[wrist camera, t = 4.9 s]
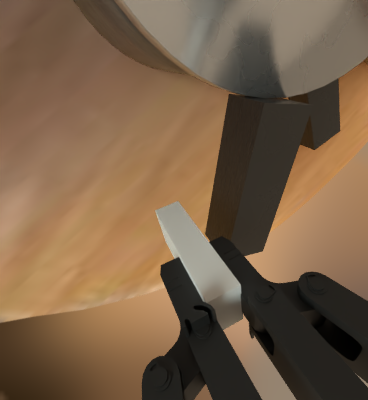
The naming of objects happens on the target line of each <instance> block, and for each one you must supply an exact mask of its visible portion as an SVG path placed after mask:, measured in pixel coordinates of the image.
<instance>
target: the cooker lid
mask: <svg viewBox="0 0 368 400" xmlns="http://www.w3.org/2000/svg"><path fill="white" fill-rule="evenodd" d="M114 1H115V2H116V4H117V5H118V6H119V7H120V8H121V10H122V11H123V12H124V13H125V15H126V16H127V17H128V18H129V20H130V21H131V22H132V23H133V24H134V26H135V27H136V28H137V29H138V31H139V32H140V33H142V34H143V35H144V36H145V37H146V38H147V39H148V40H149V41H150V42H151V43H152V44H153V45H154V46H155V47H156V48H157V49H158V50H159V51H160V52H161V53H162V54H163V55H164V56H165V57H167V58H168V59H169V60H171V61H172V62H174V63H175V64H176V65H178V66H179V67H180V68H182V69H183V70H184V71H186V72H187V73H188V74H190V75H192V76H194V77H196V78H198V79H200V80H202V81H203V82H205V83H207V84H209V85H211V86H214V87H217V88H220V89H223V90H226V91H229V92H232V93H237V94H241V95H237V94H229V97H228V103H227V109H226V115H225V121H224V126H223V132H222V138H221V144H220V150H219V156H218V162H217V168H216V174H215V179H214V185H213V191H212V197H211V203H210V209H209V215H208V221H207V227H206V233H205V235H206V236H207V237H208V239H209V240H210V241H212V240H214V239H216V238H219V237H221V236H223V237H224V238H226V239H228V240H230V241H231V242H232V243H233V244H234V245H235V247H236V248H237V249H238V250H239V251H240V252H241V254H242V255H243V256H247V255H250V254H254V253H258V252H262V251H263V249H264V246H265V243H266V240H267V237H268V235H269V232H270V229H271V226H272V223H273V220H274V217H275V215H276V212H277V209H278V206H279V203H280V200H281V197H282V194H283V191H284V188H285V186H286V183H287V180H288V177H289V174H290V171H291V168H292V165H293V162H294V160H295V157H296V154H297V151H298V148H299V145H300V142H301V139H302V136H303V133H304V131H305V128H306V125H307V122H308V119H309V116H310V113H311V110H312V107H313V105H312V104H307V103H302V102H297V101H292V100H287V99H283V98H286V97H291V96H295V95H300V94H305V93H307V92H310V91H313V90H315V89H318V88H320V87H323V86H325V85H327V84H329V83H331V82H332V81H334V80H336V79H338V78H340V77H341V76H343V75H344V74H346V73H347V72H349V71H350V70H351V69H353V68H354V67H356V66H357V65H358V64H360V63H361V62H362V61H363V60H365V59H366V58H367V57H368V0H114Z"/></svg>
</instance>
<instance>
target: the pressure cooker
mask: <svg viewBox="0 0 368 400" xmlns="http://www.w3.org/2000/svg"><path fill="white" fill-rule="evenodd" d="M74 2H75V3H76V4H77V6H78V7H79V9H80V10H81V11H82V13H83V14H84V16H85V17H86V18H87V20H88V21H89V22H90V23H91V24H92V25H93V26H94V28H95V29H96V30H97V31H98V32H99V33H100V34H101V35H102V36H103V37H104V38H105V39H106V40H107V41H108V42H109V43H110V44H111V45H113V46H114V47H115V48H117V49H118V50H119V51H121V52H122V53H123V54H125V55H126V56H128V57H130V58H131V59H133V60H135V61H137V62H139V63H141V64H143V65H146V66H148V67H151V68H154V69H159V70H163V71H169V72H174V73H180V74H186V75H190V74H188V73H187V72H186V71H184V70H183V69H182V68H180V67H179V66H178V65H176V64H175V63H174V62H172V61H171V60H169V59H168V58H167V57H165V56H164V55H163V54H162V53H161V52H160V51H159V50H158V49H157V48H156V47H155V46H154V45H153V44H152V43H151V42H150V41H149V40H148V39H147V38H146V37H145V36H144V35H143V34H142V33H140V32H139V31H138V29H137V28H136V27H135V26H134V24H133V23H132V22H131V21H130V20H129V18H128V17H127V16H126V15H125V13H124V12H123V11H122V10H121V8H120V7H119V6H118V5H117V4H116V2H115V1H114V0H74ZM288 98H289V100H292V101H297V102H302V103H307V104H312V105H313V107H312V110H311V113H310V116H309V119H308V122H307V125H306V128H305V131H304V133H303V136H302V139H301V142H300V145H303V146H306V147H308V148H311V149H313V150H315V149H317V148H318V147H319V146H321V145H322V144H323V143H325V142H326V141H327V140H329V139H330V138H331V137H333V136H334V135H335V134H337V133H338V132H339V131H340V114H339V84H338V79H336V80H334V81H332V82H331V83H329V84H327V85H325V86H323V87H320V88H318V89H315V90H313V91H310V92H307V93H305V94H300V95H295V96H291V97H288Z"/></svg>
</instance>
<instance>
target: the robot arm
mask: <svg viewBox="0 0 368 400" xmlns="http://www.w3.org/2000/svg"><path fill="white" fill-rule="evenodd" d="M155 211H156V214H157V217H158V220H159V223H160V226H161V229H162V232H163V235H164V238H165V240H166V243H167V245H168V247H169V249H170V250H171V252H172V254H173V256H174V258H175V259H173V260H171V261H169V262H167V263H165V264H163V265H161V274H160V275H161V278H162V280H163V282H164V285H165V287H166V289H167V292H168V294H169V297H170V299H171V301H172V304H173V306H174V308H175V311H176V313H177V316H178V318H179V320H180V326H181V330H180V335H179V338H178V340H177V342H176V343H175V344H174V346H173V347H172V348H171V349H170V350H169V351H168V352H167V354H166V355H165V356H159V357H157V358H155V359H153V360H152V361H151V362H150V363H149V364H148V365H147V367H146V369H145V371H144V373H143V379H142V400H194V399H195V397H196V396H197V395H198V393H199V392H200V391H201V389H202V388H203V387H204V385H205V384H206V385H207V387H208V390H209V392H210V394H211V397H212V399H213V400H262V399H261V397H260V395H259V393H258V392H257V390H256V388H255V386H254V385H253V383H252V381H251V379H250V377H249V376H248V374H247V372H246V371H245V369H244V367H243V365H242V363H241V361H240V360H239V358H238V356H237V355H236V353H235V351H234V349H233V347H232V346H231V344H230V342H229V340H228V339H227V337H226V335H225V333H224V331H223V330H224V329H226V328H228V327H229V326H231V325H233V324H234V323H236V322H238V321H240V320H242V319H243V314H244V316H245V317H246V319H247V320H248V321H249V332H250V335H251V338H254V336H255V337H256V339H257V340H258V342H259V343H260V345H261V346H262V348H263V349H264V351H265V352H266V354H267V355H268V357H269V359H270V360H271V362H272V363H273V365H274V366H275V368H276V369H277V370H278V372H279V374H280V375H281V377H282V378H283V380H284V381H285V383H286V384H287V386H288V387H289V389H290V390H291V392H292V393H293V395H294V396H295V398H296V399H297V400H368V387H367V386H366V385H365V384H364V383H363V382H362V381H361V379H360V378H359V377H358V376H360V377H361V378H362V379H363V380H364V381H366V382H367V383H368V301H366V300H365V299H363V298H361V297H360V296H358V295H357V294H355V293H353V292H352V291H350V290H348V289H346V288H345V287H343V286H342V285H340V284H338V283H337V282H335V281H333V280H332V279H330V278H329V277H327V276H325V275H323V274H321V273H318V272H306V273H304V274H303V275H301V276H300V278H299V280H298V281H294V282H288V283H273V282H270V281H268V280H266V279H264V278H263V277H262V276H261V275H260V274H259V273H258V272H257V271H256V269H255V268H254V267H253V266H252V265H251V264H250V263H249V261H248V260H247V259H246V258H245V257H244V256H243V255H242V254H241V252H240V251H239V250H238V249H237V248H236V247H235V245H234V244H233V243H232V242H231V241H230V240H228V239H226V238H224V237H223V236H221V237H219V238H216V239H214V240H212V241H210V242H208V240H207V239H206V238H205V236H204V235H203V234H202V232H201V231H200V230H199V228H198V227H197V226H196V224H195V223H194V222H193V220H192V219H191V218H190V216H189V215H188V214H187V212H186V211H185V210H184V208H183V207H182V206H181V204H180V203H179V202H178V201H177V202H175V203H172V204H170V205H167V206H165V207H163V208H160V209H158V210H155ZM354 372H355V373H356V374H357V375H358V376H357V375H356V374H355V373H354Z"/></svg>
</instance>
